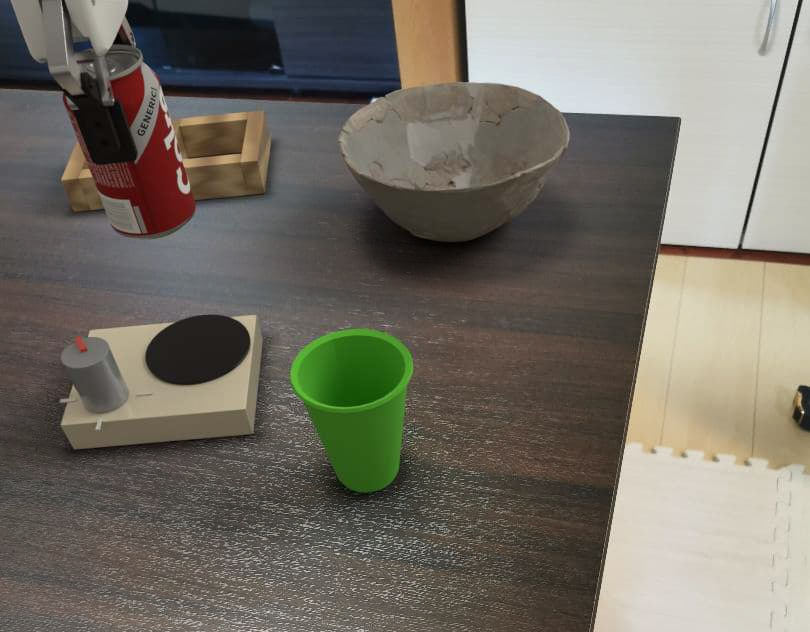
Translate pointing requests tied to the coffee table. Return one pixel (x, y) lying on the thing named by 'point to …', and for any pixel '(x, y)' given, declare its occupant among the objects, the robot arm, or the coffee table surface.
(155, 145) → the soda can
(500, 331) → the coffee table surface
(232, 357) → the burner
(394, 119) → the ceramic bowl
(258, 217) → the coffee table surface
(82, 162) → the box
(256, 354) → the hob
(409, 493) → the coffee table surface
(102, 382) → the knob
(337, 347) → the cup
